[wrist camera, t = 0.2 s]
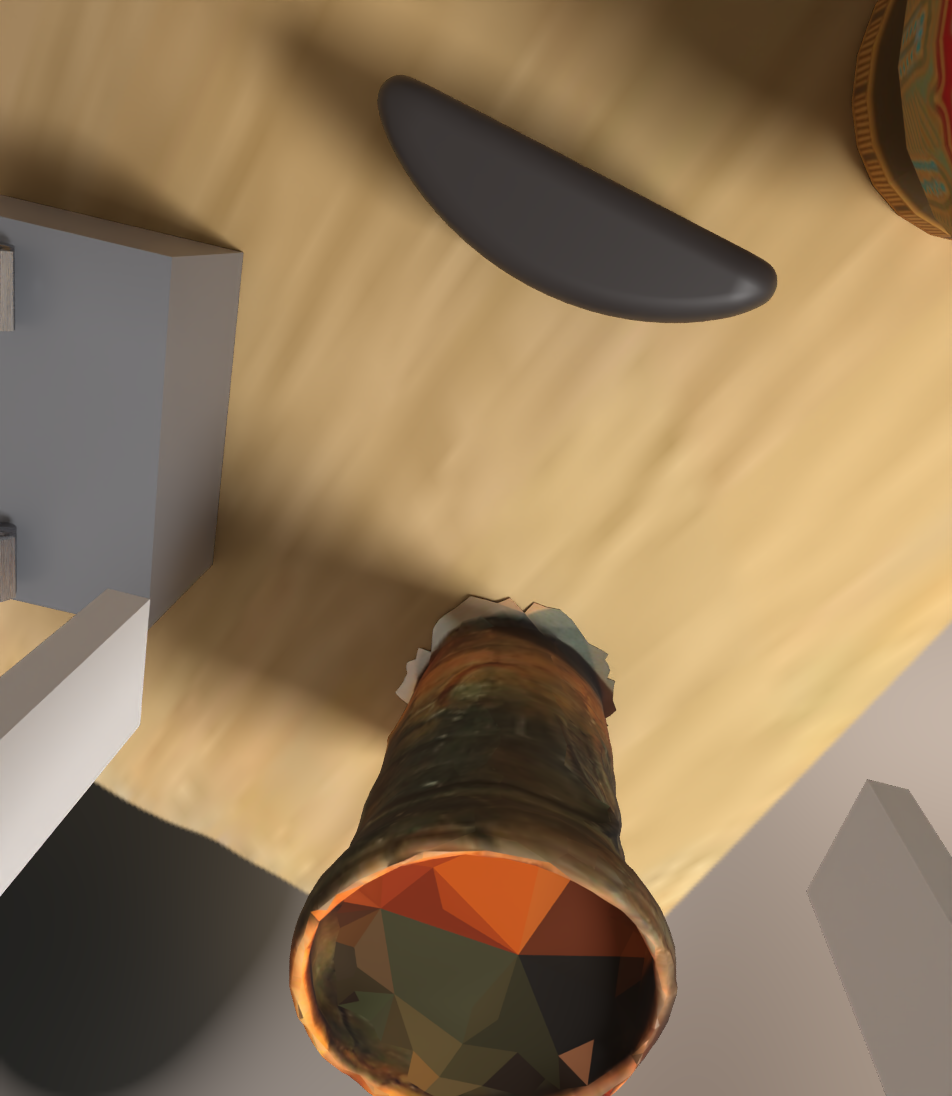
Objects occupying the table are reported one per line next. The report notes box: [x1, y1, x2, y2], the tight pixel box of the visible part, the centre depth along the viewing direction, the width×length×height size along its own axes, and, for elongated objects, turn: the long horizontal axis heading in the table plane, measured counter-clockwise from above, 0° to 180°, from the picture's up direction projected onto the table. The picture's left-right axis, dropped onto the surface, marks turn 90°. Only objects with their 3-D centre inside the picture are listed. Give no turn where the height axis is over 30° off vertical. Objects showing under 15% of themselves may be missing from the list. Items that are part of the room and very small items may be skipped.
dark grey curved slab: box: [377, 75, 777, 323], centre depth 32 cm, size 16×5×9 cm, turn 65°
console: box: [0, 195, 243, 629], centre depth 38 cm, size 17×13×8 cm
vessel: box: [289, 596, 677, 1096], centre depth 37 cm, size 14×14×20 cm
